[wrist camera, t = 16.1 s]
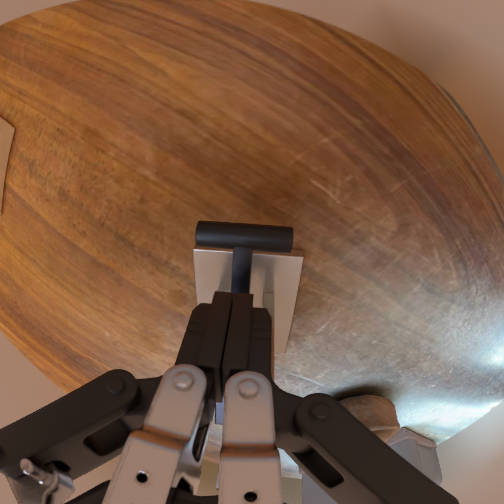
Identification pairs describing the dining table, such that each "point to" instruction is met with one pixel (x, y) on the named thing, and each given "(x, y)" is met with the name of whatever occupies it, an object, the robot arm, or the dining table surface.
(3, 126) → the dial panel
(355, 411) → the bowl
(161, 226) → the dining table surface
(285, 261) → the bracket
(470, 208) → the dining table surface
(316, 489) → the toaster
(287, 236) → the lever
